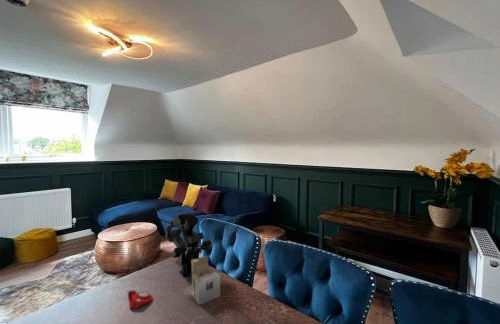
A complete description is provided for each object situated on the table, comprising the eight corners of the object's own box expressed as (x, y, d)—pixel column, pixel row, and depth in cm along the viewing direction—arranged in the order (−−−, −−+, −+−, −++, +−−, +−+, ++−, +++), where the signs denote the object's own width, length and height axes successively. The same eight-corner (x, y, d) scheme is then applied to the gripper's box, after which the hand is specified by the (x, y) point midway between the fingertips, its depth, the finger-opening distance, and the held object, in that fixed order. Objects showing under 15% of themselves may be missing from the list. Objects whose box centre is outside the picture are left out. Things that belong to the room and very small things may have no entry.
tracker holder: (156, 292, 104) (147, 301, 94) (153, 303, 103) (143, 313, 93) (130, 285, 104) (118, 294, 94) (127, 296, 103) (114, 305, 93)
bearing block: (186, 287, 109) (186, 267, 108) (206, 280, 114) (206, 262, 114) (198, 305, 97) (198, 282, 96) (220, 296, 102) (220, 275, 102)
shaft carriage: (191, 287, 107) (191, 260, 106) (205, 282, 111) (205, 256, 110) (199, 297, 100) (198, 267, 99) (213, 291, 104) (213, 263, 103)
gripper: (173, 231, 108) (181, 264, 100) (210, 224, 119) (220, 253, 110) (169, 242, 115) (176, 274, 107) (204, 234, 126) (213, 262, 117)
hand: (197, 265), depth 110 cm, fingers closed
